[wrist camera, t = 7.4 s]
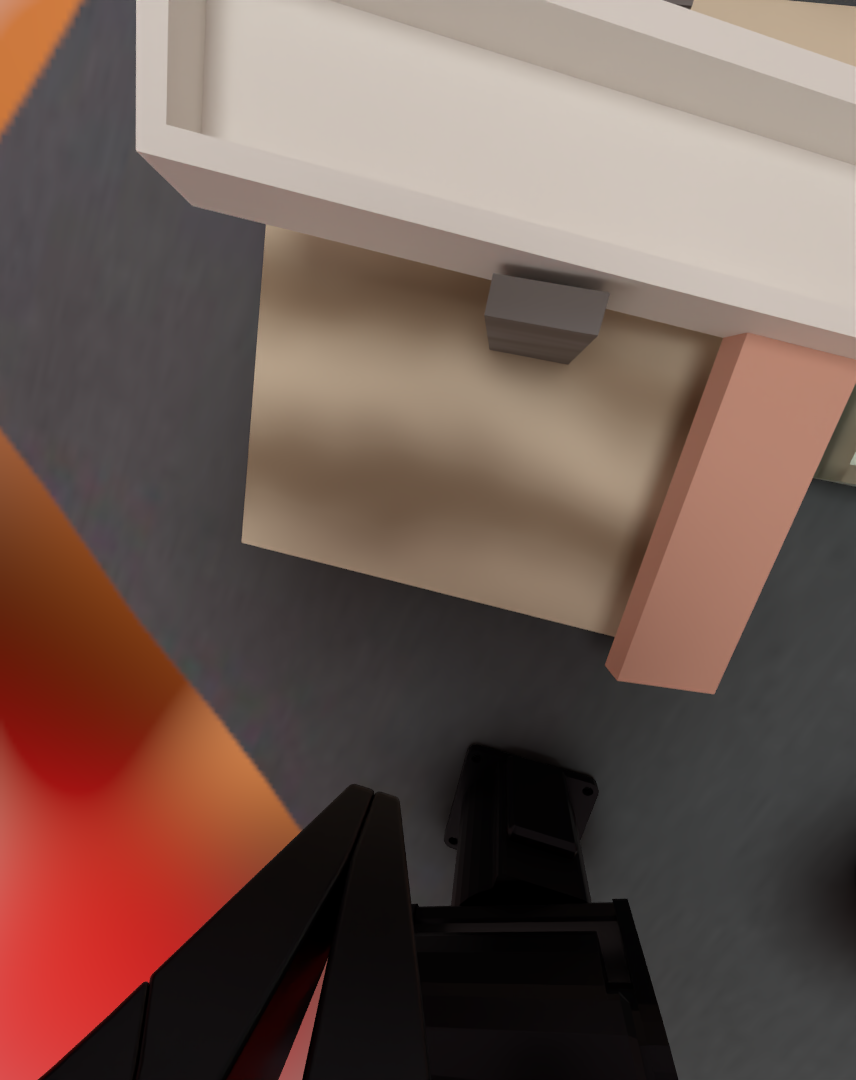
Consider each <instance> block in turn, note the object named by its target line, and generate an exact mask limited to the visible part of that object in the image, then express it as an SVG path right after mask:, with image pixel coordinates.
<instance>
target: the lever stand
mask: <svg viewBox="0 0 856 1080" xmlns="http://www.w3.org/2000/svg"><path fill="white" fill-rule="evenodd" d="M664 1H667V2H670V3H673V4H675V5H678V6H681V7H684V8H687V9H690V10H693V11H696V12H699V13H701V14H704V15H707V16H710V17H713V18H716V19H719V20H722V21H725V22H728V23H730V24H733V25H736V26H739V27H742V28H745V29H748V30H751V31H754V32H756V33H759V34H762V35H765V36H768V37H771V38H774V39H777V40H780V41H783V42H785V43H788V44H791V45H794V46H797V47H800V48H803V49H806V50H809V51H812V52H814V53H817V54H820V55H823V56H826V57H829V58H832V59H835V60H838V61H840V62H843V63H846V64H849V65H852V66H855V67H856V7H854V6H843V5H832V4H821V3H810V2H799V1H788V0H664ZM609 296H610V293H608V292H602V291H596V290H590V289H584V288H578V287H572V286H566V285H560V284H554V283H548V282H542V281H536V280H530V279H524V278H519V277H513V276H507V275H501V274H495V273H493V276H492V280H488V279H484V278H480V277H476V276H472V275H468V274H464V273H460V272H456V271H452V270H448V269H444V268H440V267H436V266H432V265H428V264H424V263H420V262H416V261H412V260H408V259H404V258H400V257H396V256H392V255H388V254H384V253H380V252H376V251H372V250H368V249H364V248H360V247H356V246H352V245H348V244H344V243H340V242H336V241H332V240H328V239H324V238H320V237H316V236H312V235H308V234H304V233H300V232H295V231H291V230H287V229H283V228H279V227H275V226H271V225H267V224H266V232H265V245H264V258H263V271H262V284H261V297H260V310H259V323H258V336H257V349H256V362H255V375H254V388H253V401H252V413H251V426H250V439H249V452H248V465H247V478H246V491H245V504H244V517H243V530H242V543H245V544H249V545H253V546H257V547H261V548H265V549H269V550H273V551H277V552H281V553H285V554H289V555H293V556H297V557H301V558H304V559H308V560H312V561H316V562H320V563H324V564H328V565H332V566H336V567H340V568H344V569H348V570H352V571H356V572H360V573H364V574H368V575H372V576H376V577H380V578H384V579H388V580H392V581H396V582H399V583H403V584H407V585H411V586H415V587H419V588H423V589H427V590H431V591H435V592H439V593H443V594H447V595H451V596H455V597H459V598H463V599H467V600H471V601H475V602H479V603H483V604H487V605H491V606H494V607H498V608H502V609H506V610H510V611H514V612H518V613H522V614H526V615H530V616H534V617H538V618H542V619H546V620H550V621H554V622H558V623H562V624H566V625H570V626H574V627H578V628H582V629H586V630H589V631H593V632H597V633H601V634H605V635H609V636H613V637H615V635H616V633H617V630H618V627H619V624H620V622H621V619H622V616H623V613H624V611H625V608H626V605H627V602H628V600H629V597H630V594H631V591H632V588H633V586H634V583H635V580H636V577H637V575H638V572H639V569H640V566H641V564H642V561H643V558H644V555H645V552H646V550H647V547H648V544H649V541H650V539H651V536H652V533H653V530H654V528H655V525H656V522H657V519H658V517H659V514H660V511H661V508H662V505H663V503H664V500H665V497H666V494H667V492H668V489H669V486H670V483H671V481H672V478H673V475H674V472H675V469H676V467H677V464H678V461H679V458H680V456H681V453H682V450H683V447H684V445H685V442H686V439H687V436H688V434H689V431H690V428H691V425H692V422H693V420H694V417H695V414H696V411H697V409H698V406H699V403H700V400H701V398H702V395H703V392H704V389H705V387H706V384H707V381H708V378H709V375H710V373H711V370H712V367H713V364H714V362H715V359H716V356H717V353H718V351H719V348H720V345H721V342H722V339H723V338H722V337H718V336H714V335H710V334H706V333H702V332H698V331H694V330H690V329H686V328H681V327H677V326H673V325H669V324H665V323H661V322H657V321H653V320H649V319H645V318H641V317H637V316H633V315H629V314H625V313H621V312H617V311H613V310H609V309H606V306H607V303H608V299H609Z"/></svg>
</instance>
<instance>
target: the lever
mask: <svg viewBox="0 0 856 1080" xmlns="http://www.w3.org/2000/svg"><path fill="white" fill-rule="evenodd" d="M136 151H137V152H138V153H139V154H140V155H141V156H142V157H143V158H144V159H145V160H146V161H147V162H148V163H149V164H150V165H151V166H152V167H153V168H154V169H155V170H156V171H157V172H158V173H159V174H160V175H161V176H162V177H163V178H164V179H166V180H167V181H168V182H169V183H170V184H171V185H172V186H173V187H174V188H175V189H176V190H177V191H178V192H179V193H180V194H181V195H182V196H183V197H184V198H185V199H186V200H187V201H188V202H189V203H190V204H191V205H192V206H195V207H199V208H203V209H207V210H211V211H215V212H219V213H223V214H227V215H231V216H235V217H239V218H243V219H247V220H251V221H255V222H259V223H263V224H267V225H271V226H275V227H279V228H283V229H287V230H291V231H295V232H300V233H304V234H308V235H312V236H316V237H320V238H324V239H328V240H332V241H336V242H340V243H344V244H348V245H352V246H356V247H360V248H364V249H368V250H372V251H376V252H380V253H384V254H388V255H392V256H396V257H400V258H404V259H408V260H412V261H416V262H420V263H424V264H428V265H432V266H436V267H440V268H444V269H448V270H452V271H456V272H460V273H464V274H468V275H472V276H476V277H480V278H484V279H488V280H492V276H493V273H495V274H501V275H507V276H513V277H519V278H524V279H530V280H536V281H542V282H548V283H554V284H560V285H566V286H572V287H578V288H584V289H590V290H596V291H602V292H608V293H610V296H609V299H608V303H607V306H606V309H609V310H613V311H617V312H621V313H625V314H629V315H633V316H637V317H641V318H645V319H649V320H653V321H657V322H661V323H665V324H669V325H673V326H677V327H681V328H686V329H690V330H694V331H698V332H702V333H706V334H710V335H714V336H718V337H722V338H723V339H722V342H721V345H720V348H719V351H718V353H717V356H716V359H715V362H714V364H713V367H712V370H711V373H710V375H709V378H708V381H707V384H706V387H705V389H704V392H703V395H702V398H701V400H700V403H699V406H698V409H697V411H696V414H695V417H694V420H693V422H692V425H691V428H690V431H689V434H688V436H687V439H686V442H685V445H684V447H683V450H682V453H681V456H680V458H679V461H678V464H677V467H676V469H675V472H674V475H673V478H672V481H671V483H670V486H669V489H668V492H667V494H666V497H665V500H664V503H663V505H662V508H661V511H660V514H659V517H658V519H657V522H656V525H655V528H654V530H653V533H652V536H651V539H650V541H649V544H648V547H647V550H646V552H645V555H644V558H643V561H642V564H641V566H640V569H639V572H638V575H637V577H636V580H635V583H634V586H633V588H632V591H631V594H630V597H629V600H628V602H627V605H626V608H625V611H624V613H623V616H622V619H621V622H620V624H619V627H618V630H617V633H616V635H615V638H614V641H613V644H612V647H611V649H610V652H609V655H608V658H607V660H606V663H605V666H606V667H607V669H608V670H609V671H610V672H611V674H612V675H613V676H614V677H615V679H616V680H617V681H623V682H630V683H637V684H644V685H651V686H659V687H666V688H673V689H680V690H687V691H694V692H702V693H709V694H715V691H716V689H717V687H718V685H719V683H720V680H721V678H722V676H723V674H724V672H725V670H726V667H727V665H728V663H729V661H730V659H731V656H732V654H733V652H734V650H735V648H736V645H737V643H738V641H739V639H740V637H741V634H742V632H743V630H744V628H745V626H746V623H747V621H748V619H749V617H750V615H751V612H752V610H753V608H754V606H755V604H756V601H757V599H758V597H759V595H760V593H761V590H762V588H763V586H764V584H765V582H766V579H767V577H768V575H769V573H770V571H771V568H772V566H773V564H774V562H775V560H776V557H777V555H778V553H779V551H780V549H781V546H782V544H783V542H784V540H785V538H786V535H787V533H788V531H789V529H790V527H791V524H792V522H793V520H794V518H795V516H796V514H797V511H798V509H799V507H800V505H801V503H802V500H803V498H804V496H805V494H806V492H807V489H808V487H809V485H810V483H811V481H812V478H813V476H814V474H815V472H816V470H817V467H818V465H819V463H820V461H821V459H822V456H823V454H824V452H825V450H826V448H827V445H828V443H829V441H830V439H831V437H832V434H833V432H834V430H835V428H836V426H837V423H838V421H839V419H840V417H841V415H842V412H843V410H844V408H845V406H846V404H847V401H848V399H849V397H850V395H851V393H852V390H853V388H854V386H855V384H856V67H855V66H852V65H849V64H846V63H843V62H840V61H838V60H835V59H832V58H829V57H826V56H823V55H820V54H817V53H814V52H812V51H809V50H806V49H803V48H800V47H797V46H794V45H791V44H788V43H785V42H783V41H780V40H777V39H774V38H771V37H768V36H765V35H762V34H759V33H756V32H754V31H751V30H748V29H745V28H742V27H739V26H736V25H733V24H730V23H728V22H725V21H722V20H719V19H716V18H713V17H710V16H707V15H704V14H701V13H699V12H696V11H693V10H690V9H687V8H684V7H681V6H678V5H675V4H673V3H670V2H667V1H664V0H136Z"/></svg>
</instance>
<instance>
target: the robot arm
mask: <svg viewBox="0 0 856 1080" xmlns="http://www.w3.org/2000/svg"><path fill="white" fill-rule="evenodd" d="M473 755H479V756H480V757H475V756H473ZM585 787H590V788H589V789H584V788H585ZM598 792H599V791H598V787H597V784H596V781H595V780H594V779H593V778H591V777H588V776H584V775H581V774H578V773H574V772H571V771H567V770H564V769H560V768H557V767H553V766H550V765H546V764H543V763H539V762H536V761H533V760H529V759H526V758H522V757H519V756H515V755H512V754H508V753H505V752H501V751H498V750H495V749H491V748H488V747H484V746H481V745H472V746H470V747H469V748H468V750H467V754H466V757H465V761H464V764H463V768H462V772H461V775H460V779H459V783H458V786H457V790H456V794H455V797H454V801H453V805H452V808H451V812H450V815H449V819H448V823H447V826H446V830H445V836H444V842H445V844H446V845H447V846H449V847H451V848H453V849H456V850H457V854H456V864H455V873H454V883H453V892H452V901H451V906H427V907H419V906H418V904H411V896H410V888H409V879H408V870H407V861H406V852H405V843H404V835H403V826H402V817H401V808H400V801H399V799H398V798H397V797H396V796H393V795H389V794H386V793H383V792H376V793H375V795H374V791H373V790H372V789H370V788H367V787H363V786H360V785H357V784H352V785H350V786H349V787H347V788H346V789H345V790H344V791H343V792H342V793H341V794H340V795H339V796H338V797H337V798H336V799H335V800H334V801H333V802H332V803H331V804H330V805H329V806H328V807H326V808H325V809H324V810H323V811H322V812H321V813H320V814H319V815H318V816H317V817H316V818H315V819H314V820H313V821H312V822H311V823H310V824H309V825H308V826H307V827H306V828H305V829H303V830H302V831H301V832H300V833H299V834H298V835H297V836H296V837H295V838H294V839H293V840H292V841H291V842H290V843H289V844H288V845H287V846H286V847H285V848H284V849H283V850H282V851H280V852H279V854H277V855H276V856H275V857H274V858H273V859H272V860H271V861H270V862H269V863H268V864H267V865H266V866H265V867H264V868H263V869H262V870H261V871H260V872H259V873H257V875H255V877H254V878H252V879H251V880H250V881H249V882H248V883H247V884H246V885H245V886H244V887H243V888H242V889H241V890H240V891H239V892H238V893H237V894H235V895H234V896H233V897H232V898H231V899H230V900H229V901H228V902H227V903H226V904H225V905H224V906H223V907H222V908H221V909H220V910H219V911H218V912H217V913H216V914H215V915H214V916H213V917H211V919H209V920H208V921H207V922H206V923H205V924H204V925H203V926H202V927H201V928H200V929H199V930H198V931H197V932H196V933H195V934H194V935H193V936H192V937H191V938H190V939H188V941H186V943H184V944H183V945H182V946H181V947H180V948H179V949H178V950H177V951H176V952H175V953H174V954H173V955H172V956H171V957H170V958H169V959H168V960H167V961H165V962H164V963H163V964H162V965H161V966H160V967H159V968H158V969H157V970H156V971H155V972H154V973H153V974H152V975H151V977H150V982H149V983H148V982H143V983H142V984H141V985H140V986H139V987H138V988H137V989H136V990H135V991H134V992H133V993H132V994H130V995H129V996H128V997H127V998H126V999H125V1000H124V1001H123V1002H122V1003H121V1004H120V1005H119V1006H118V1007H117V1008H116V1009H115V1010H114V1011H113V1012H112V1013H111V1014H110V1015H109V1016H107V1017H106V1019H104V1020H103V1021H102V1022H101V1023H100V1024H99V1025H98V1026H97V1027H95V1029H93V1030H92V1031H91V1032H90V1033H89V1034H88V1035H87V1036H86V1037H85V1038H84V1039H82V1040H81V1041H80V1042H79V1043H78V1044H77V1045H76V1046H75V1047H74V1048H73V1049H72V1050H71V1051H69V1052H68V1053H67V1054H66V1055H65V1056H64V1057H63V1058H62V1059H61V1060H60V1061H58V1062H57V1064H56V1065H54V1066H53V1067H52V1068H51V1069H50V1070H48V1071H47V1072H46V1073H45V1074H44V1075H43V1076H42V1077H40V1078H39V1079H38V1080H278V1079H279V1077H280V1074H281V1072H282V1069H283V1067H284V1065H285V1062H286V1060H287V1057H288V1055H289V1052H290V1050H291V1048H292V1045H293V1042H294V1040H295V1038H296V1035H297V1033H298V1030H299V1028H300V1025H301V1023H302V1020H303V1018H304V1016H305V1013H306V1011H307V1008H308V1006H309V1003H310V1001H311V998H312V996H313V994H314V991H315V989H316V986H317V984H318V981H319V979H320V977H321V974H322V971H323V969H324V966H325V964H326V961H327V959H328V961H327V966H326V970H325V975H324V980H323V985H322V989H321V994H320V999H319V1003H318V1008H317V1013H316V1018H315V1022H314V1027H313V1032H312V1037H311V1041H310V1046H309V1051H308V1055H307V1060H306V1065H305V1069H304V1074H303V1079H302V1080H678V1077H677V1073H676V1069H675V1065H674V1062H673V1058H672V1054H671V1050H670V1046H669V1043H668V1039H667V1035H666V1032H665V1028H664V1024H663V1021H662V1017H661V1014H660V1010H659V1007H658V1003H657V1000H656V996H655V993H654V989H653V986H652V982H651V979H650V975H649V972H648V969H647V965H646V962H645V958H644V955H643V951H642V948H641V944H640V941H639V937H638V934H637V931H636V927H635V924H634V920H633V917H632V913H631V910H630V906H629V903H628V900H627V899H612V900H613V902H606V903H592V902H591V897H590V892H589V887H588V881H587V876H586V871H585V865H584V860H583V855H582V850H581V844H580V839H581V837H582V834H583V832H584V829H585V827H586V824H587V822H588V819H589V816H590V814H591V811H592V809H593V806H594V804H595V801H596V799H597V796H598ZM453 837H455V838H453Z"/></svg>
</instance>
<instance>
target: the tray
mask: <svg viewBox="0 0 856 1080" xmlns="http://www.w3.org/2000/svg"><path fill="white" fill-rule="evenodd" d="M813 478H815V479H820V480H825V481H830V482H835V483H840V484H845V485H850V486H855V487H856V384H855V386H854V388H853V390H852V393H851V395H850V397H849V399H848V401H847V404H846V406H845V408H844V410H843V412H842V415H841V417H840V419H839V421H838V423H837V426H836V428H835V430H834V432H833V434H832V437H831V439H830V441H829V443H828V445H827V448H826V450H825V452H824V454H823V456H822V459H821V461H820V463H819V465H818V467H817V470H816V472H815V474H814V476H813Z"/></svg>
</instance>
